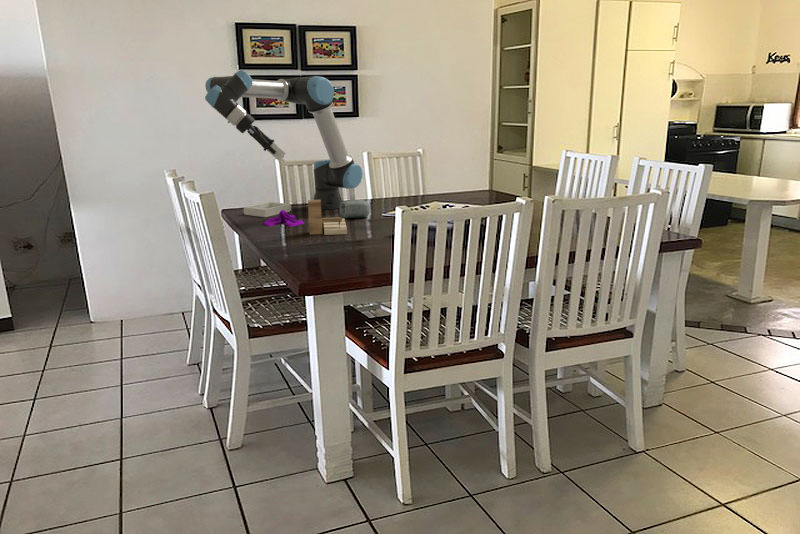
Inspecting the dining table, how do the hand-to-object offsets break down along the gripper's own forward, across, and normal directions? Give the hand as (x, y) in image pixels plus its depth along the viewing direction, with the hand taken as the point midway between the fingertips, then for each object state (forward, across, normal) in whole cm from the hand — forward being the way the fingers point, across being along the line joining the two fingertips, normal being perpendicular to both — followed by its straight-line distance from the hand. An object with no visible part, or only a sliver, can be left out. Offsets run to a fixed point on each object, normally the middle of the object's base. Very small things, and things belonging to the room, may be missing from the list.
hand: (282, 157), depth 252 cm
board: (+35, +2, -7) cm, 35 cm away
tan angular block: (+32, +8, -10) cm, 34 cm away
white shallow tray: (+13, -43, -29) cm, 53 cm away
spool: (+42, -22, -1) cm, 47 cm away
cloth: (+20, -18, -23) cm, 36 cm away
